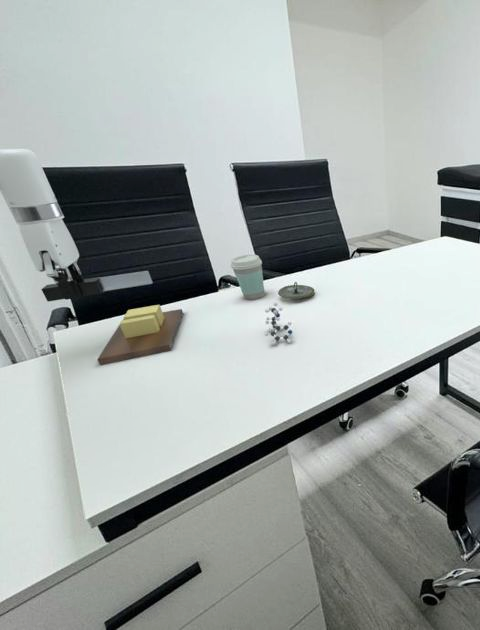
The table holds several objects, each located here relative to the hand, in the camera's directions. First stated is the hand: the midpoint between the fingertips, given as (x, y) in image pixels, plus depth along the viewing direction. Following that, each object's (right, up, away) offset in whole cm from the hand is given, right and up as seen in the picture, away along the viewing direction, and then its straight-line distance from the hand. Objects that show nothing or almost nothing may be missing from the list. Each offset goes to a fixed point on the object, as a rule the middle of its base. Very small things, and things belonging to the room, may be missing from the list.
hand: (76, 294), depth 88 cm
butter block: (+8, -7, +12) cm, 16 cm away
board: (+9, -10, +9) cm, 17 cm away
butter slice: (+10, -9, +7) cm, 15 cm away
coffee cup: (+28, +1, +30) cm, 41 cm away
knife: (+5, +1, +2) cm, 5 cm away
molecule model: (+44, -10, +7) cm, 45 cm away
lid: (+41, +1, +28) cm, 50 cm away
